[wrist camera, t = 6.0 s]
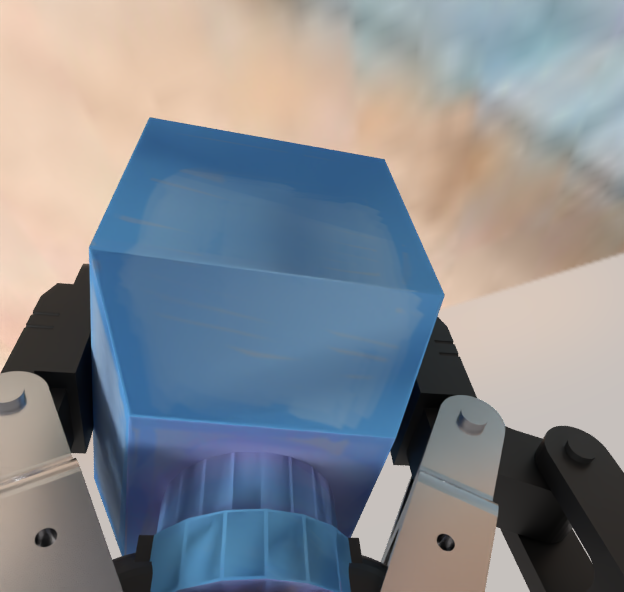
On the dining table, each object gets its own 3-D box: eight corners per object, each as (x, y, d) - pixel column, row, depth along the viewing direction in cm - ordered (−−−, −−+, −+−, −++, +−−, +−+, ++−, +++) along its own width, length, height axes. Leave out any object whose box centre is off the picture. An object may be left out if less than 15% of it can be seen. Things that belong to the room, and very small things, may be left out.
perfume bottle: (384, 159, 15) (598, 641, 6) (332, 331, 19) (407, 809, 9) (149, 117, 14) (-91, 632, 4) (141, 309, 18) (-3, 828, 8)
